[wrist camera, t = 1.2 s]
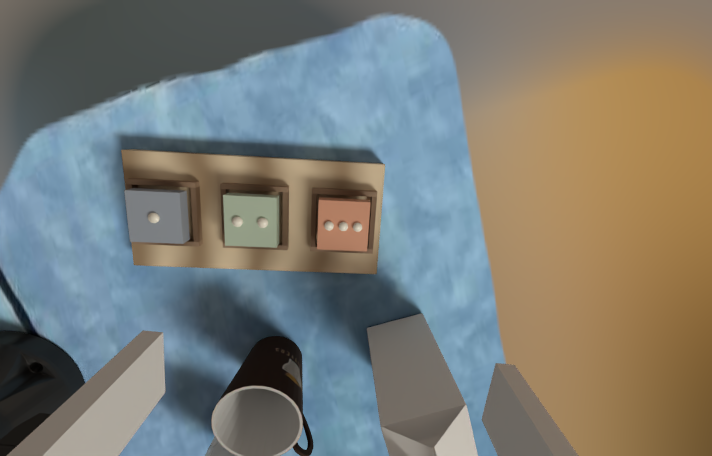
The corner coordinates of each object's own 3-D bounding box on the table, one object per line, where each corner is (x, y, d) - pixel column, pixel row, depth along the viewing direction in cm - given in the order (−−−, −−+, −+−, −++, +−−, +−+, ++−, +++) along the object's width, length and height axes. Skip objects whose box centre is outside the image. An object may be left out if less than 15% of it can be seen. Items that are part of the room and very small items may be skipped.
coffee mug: (232, 335, 41) (199, 395, 31) (302, 321, 41) (291, 378, 31) (257, 413, 44) (233, 490, 34) (322, 400, 44) (317, 474, 34)
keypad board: (144, 258, 38) (128, 268, 35) (133, 149, 35) (114, 150, 32) (374, 267, 40) (377, 277, 37) (382, 163, 37) (386, 165, 34)
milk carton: (422, 311, 42) (487, 448, 23) (434, 360, 43) (503, 522, 25) (365, 326, 42) (386, 474, 23) (380, 374, 43) (409, 546, 25)
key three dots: (318, 244, 35) (317, 249, 34) (319, 197, 34) (318, 200, 33) (365, 246, 36) (367, 251, 34) (369, 199, 34) (370, 202, 33)
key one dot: (138, 237, 34) (128, 242, 33) (133, 188, 33) (122, 190, 31) (189, 239, 35) (182, 244, 33) (186, 190, 33) (178, 193, 32)
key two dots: (229, 241, 35) (224, 246, 33) (228, 192, 34) (222, 195, 32) (279, 243, 35) (276, 248, 34) (279, 195, 34) (276, 198, 32)
